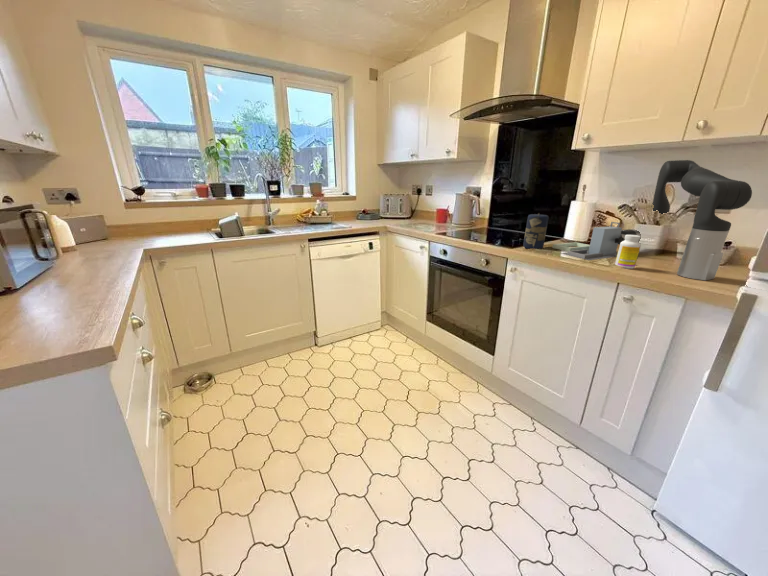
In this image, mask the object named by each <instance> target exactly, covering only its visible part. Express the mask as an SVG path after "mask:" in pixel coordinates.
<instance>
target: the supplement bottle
mask: <svg viewBox="0 0 768 576" xmlns="http://www.w3.org/2000/svg"><path fill="white" fill-rule="evenodd" d="M639 239H640V236H638V235H625V240H624V241H622V242H621V243H620V245H618V246H619V247H618V249H617V253H618V254H617V257H615V262H614V265H616V266H617V267H621V268H622V269H629V270H631V269H632V270H633V269H635V267H636V266H637V265H636V264H637V262H638V261H637V260H638V258H639V253H640V250H641V245H642V243H639V242H638V240H639Z"/></svg>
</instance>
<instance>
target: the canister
mask: <svg viewBox="0 0 768 576" xmlns="http://www.w3.org/2000/svg"><path fill="white" fill-rule="evenodd" d="M549 219H550V217H549V215H547V214H540V212H538V213H537V214H536V213H534V214H533V213H531V214H528V216H527V220H526V227H525V230H524V231H525V232H524V239H523V243H522V245H523V247H524V249H530V250H532V249H533V250H534V249H535V250H537V249H539V250H540V249H543V248H544V244H545V240H546V235H547V229H548V223H549Z"/></svg>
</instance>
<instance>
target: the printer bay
mask: <svg viewBox="0 0 768 576" xmlns="http://www.w3.org/2000/svg"><path fill="white" fill-rule="evenodd" d="M588 251H589V250H586V249H584V250H574V251H566V252H561V253H560V254H561V255H566V256H570V257H573V258H578V259H582V260H586V261H593V260H601V259H609V258H616V257H617V254H618V252H616V253H615V254H607V255H603V253H594V254H589V253H588Z"/></svg>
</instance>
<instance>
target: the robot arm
mask: <svg viewBox="0 0 768 576" xmlns="http://www.w3.org/2000/svg"><path fill="white" fill-rule="evenodd" d="M659 169H660V170H659V173H658V176H657V181H656V184H655V189H654V194H653V200H652V204H653V205H654V208H653V211H656V210H658V211H659V213H661V214H663V213H667V212H669V213H670V209H671V204H670V201H669V198H668V196H667V193H666V186H667V183H680V187H681V188H682V189H683V190H684V191H685V192H686V193H688V194H691V195H693V196H697V197H699V198H698V203H697V208H696V210H695V214H694V217H693V224H692V227H691V230H690V234H689V236H688V238H687V239H688V240H687V241H686V242H687V243H686V245H685V247H684V248H685V249H684V251H683V254H682V257H681V260H680V263H679V266H678V269H677V272H676V275H678V276H680V277H684V278H689V279H691V280H692V279H693V280H699V281H709V280H714V279H715V277H716V276H717V275H716V274H717V272H718V271H719V270H718V269H719V266H720V265H721V261H722V259H723V257H724V252H722V251H723V248H724V245H725V243H726V240H727V238H728V236H729V233H730V231H731V230H730V229H731V227H732V223H731V222H730V221H728V220H726V219H722V218H719V217H718V216H717V215H716V210H723V211H725V210H728V211H730V210H731V211H732V210H737V209H740V208H742V207H744V206H746V205H747V204H748V203H749V202H750V200H751V198H752V195H753V190H752V187H751V185H750V184H749V183H748V182H746V181H742V180H736V179H731V178H728V177H726V176H724V175H721V174H719V173H717V172H715V171H713V170H710V169H708V168H705V167H702V166H700V165H699V164H698V163H696V162H695V161H693V160H690V159H685V160H683V159H681V160H680V159H677V160H667V161H665V162H664V163H663V164H662V165H661V167H660V168H659ZM652 204H651V205H652ZM625 235H638V236H640V239H641V234H640V232H639V231H637V230H635V228H632V229H631V228H629V229H622V231H621V234H620V238H616V239H615V243H618V246H620V243H621V242H622V241H624V240H625ZM640 239H639V240H638V242H639V241H640Z"/></svg>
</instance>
